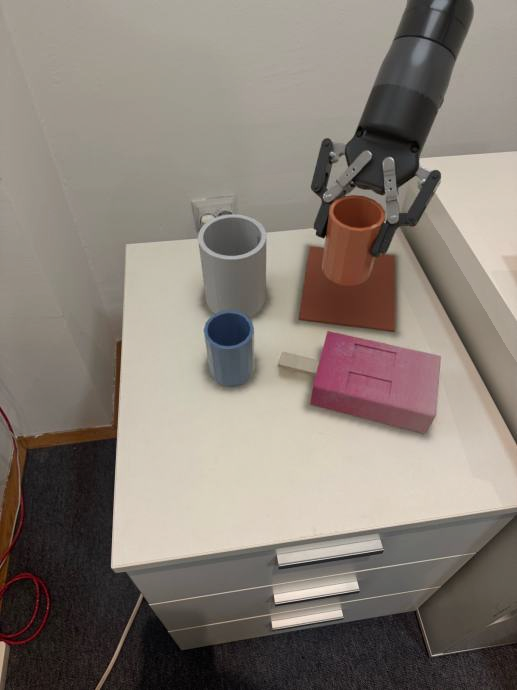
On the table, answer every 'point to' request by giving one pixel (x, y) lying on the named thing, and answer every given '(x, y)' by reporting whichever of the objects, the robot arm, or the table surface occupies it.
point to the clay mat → (350, 296)
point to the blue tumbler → (230, 347)
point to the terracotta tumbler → (351, 239)
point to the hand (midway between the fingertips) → (346, 246)
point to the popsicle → (372, 380)
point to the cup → (233, 263)
